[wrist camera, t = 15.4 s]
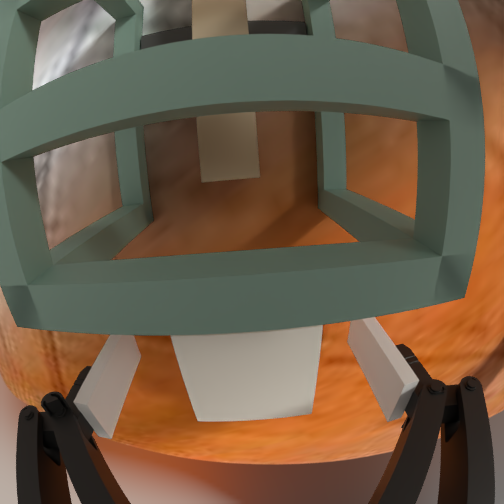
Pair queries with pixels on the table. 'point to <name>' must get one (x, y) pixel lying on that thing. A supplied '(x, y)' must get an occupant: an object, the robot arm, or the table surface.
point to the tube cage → (238, 101)
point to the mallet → (233, 124)
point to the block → (250, 373)
